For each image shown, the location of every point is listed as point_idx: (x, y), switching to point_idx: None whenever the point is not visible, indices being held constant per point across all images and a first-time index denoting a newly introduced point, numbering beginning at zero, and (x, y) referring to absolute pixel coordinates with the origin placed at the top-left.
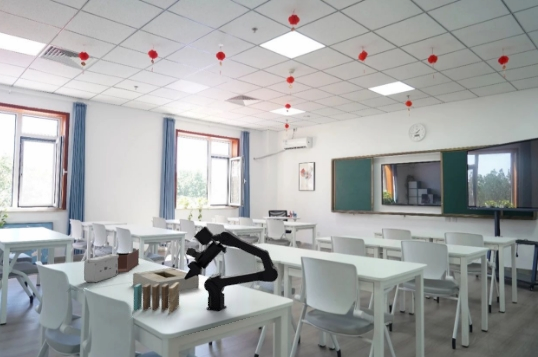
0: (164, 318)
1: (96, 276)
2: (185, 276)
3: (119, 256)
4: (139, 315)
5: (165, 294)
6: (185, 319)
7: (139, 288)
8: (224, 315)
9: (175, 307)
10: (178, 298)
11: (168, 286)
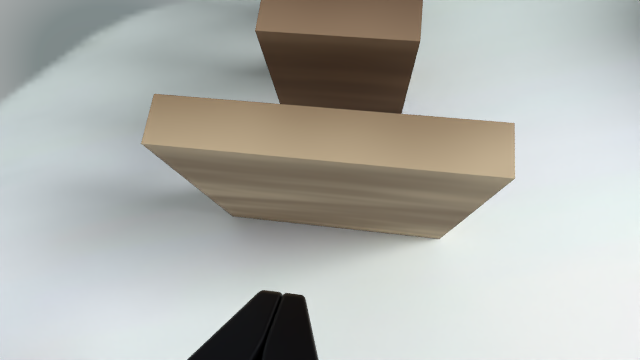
0: (93, 183)
1: None
2: (229, 325)
3: None
4: (202, 8)
5: (287, 88)
6: (20, 354)
7: None
8: None
9: (318, 223)
10: (427, 223)
11: (404, 62)
